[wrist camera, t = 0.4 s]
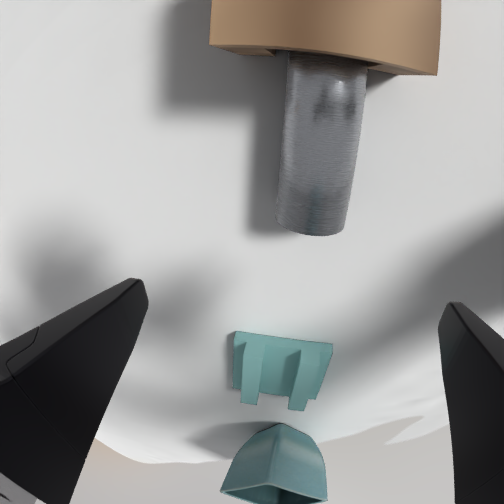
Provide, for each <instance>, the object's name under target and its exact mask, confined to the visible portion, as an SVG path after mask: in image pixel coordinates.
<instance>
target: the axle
mask: <svg viewBox="0 0 504 504" xmlns="http://www.w3.org/2000/svg"><path fill="white" fill-rule="evenodd" d="M367 71H368V61H366V60H360V59H355V58H349V57H343V56H336V55H330V54H322V53H314V52H305V51H295V50H289V57H288V71H287V85H286V98H285V111H284V123H283V136H282V147H281V159H280V171H279V182H278V193H277V204H276V214H275V218H276V220H277V222H278V223H279V224H280V225H282V226H283V227H285V228H287V229H289V230H291V231H294V232H297V233H300V234H305V235H311V236H329V235H334V234H337V233H339V232H341V231H342V230H343V228H344V225H345V220H346V215H347V210H348V205H349V199H350V194H351V188H352V182H353V177H354V171H355V164H356V158H357V152H358V145H359V138H360V131H361V124H362V116H363V108H364V100H365V91H366V81H367Z"/></svg>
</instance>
